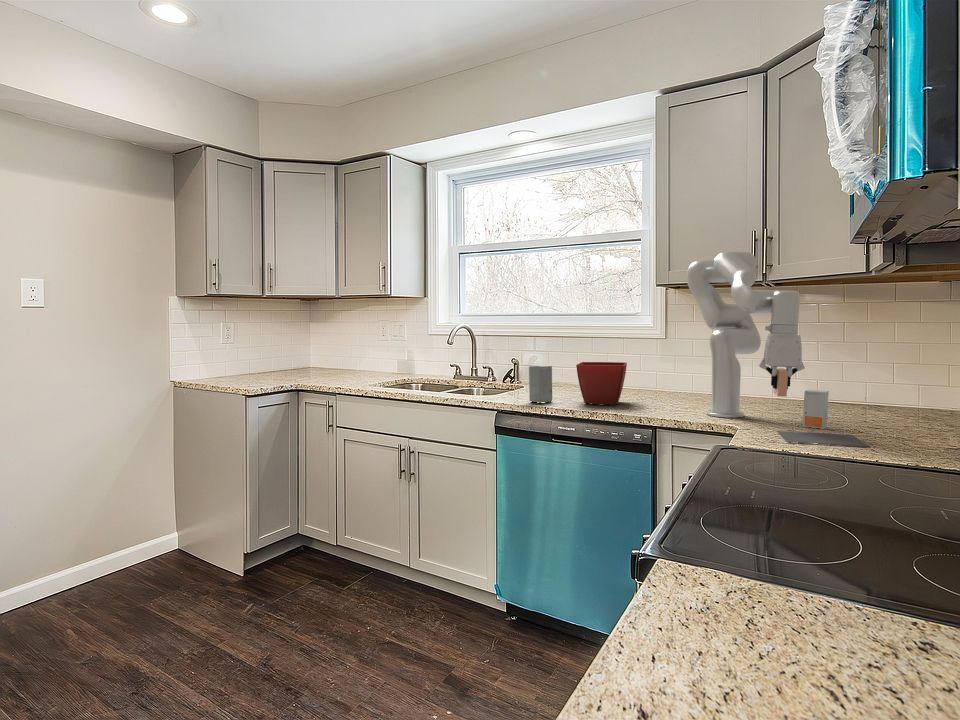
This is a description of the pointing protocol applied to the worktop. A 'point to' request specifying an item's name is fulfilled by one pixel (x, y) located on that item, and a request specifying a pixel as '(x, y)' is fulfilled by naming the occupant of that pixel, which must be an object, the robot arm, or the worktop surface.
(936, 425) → the worktop surface
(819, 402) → the skincare box
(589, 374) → the plant pot
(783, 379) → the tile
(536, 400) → the grey canister
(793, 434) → the mat
